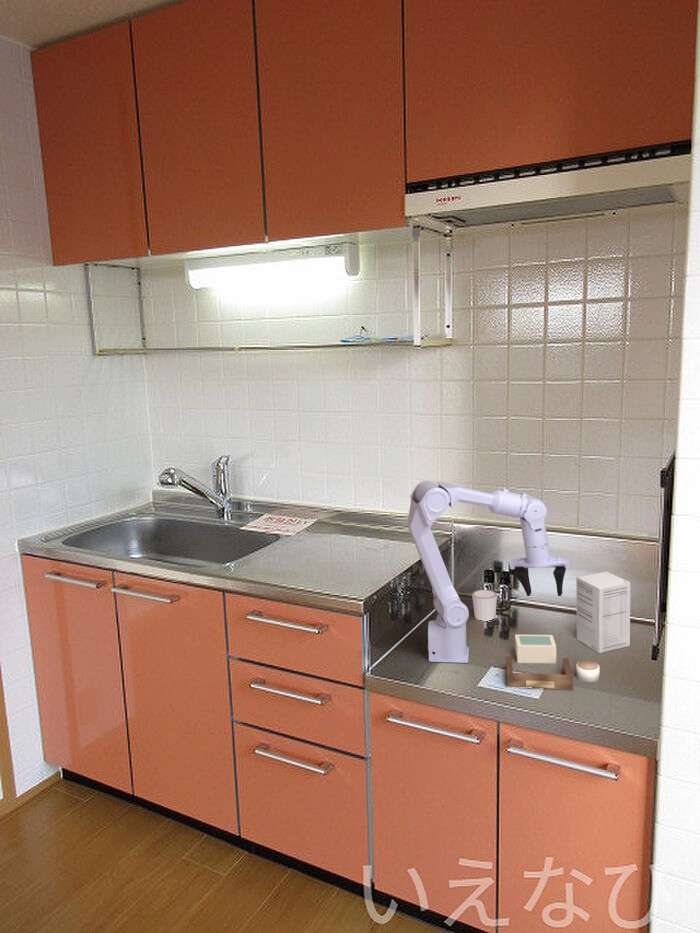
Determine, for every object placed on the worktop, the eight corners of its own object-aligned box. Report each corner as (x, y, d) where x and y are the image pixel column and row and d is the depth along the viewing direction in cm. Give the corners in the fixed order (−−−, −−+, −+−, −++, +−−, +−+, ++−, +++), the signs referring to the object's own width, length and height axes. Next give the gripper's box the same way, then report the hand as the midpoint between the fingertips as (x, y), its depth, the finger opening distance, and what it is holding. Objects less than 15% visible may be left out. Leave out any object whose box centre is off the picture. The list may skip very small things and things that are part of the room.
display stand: (507, 688, 154) (507, 675, 154) (506, 668, 163) (506, 656, 163) (573, 690, 152) (573, 678, 151) (568, 670, 161) (568, 658, 160)
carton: (517, 663, 166) (517, 646, 165) (515, 651, 172) (514, 634, 171) (556, 664, 164) (556, 646, 163) (552, 651, 171) (552, 634, 170)
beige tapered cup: (482, 610, 197) (482, 587, 196) (502, 616, 192) (502, 593, 191) (467, 618, 193) (466, 594, 192) (487, 624, 188) (487, 600, 187)
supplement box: (606, 632, 179) (607, 570, 176) (631, 646, 171) (632, 581, 167) (575, 639, 176) (575, 576, 173) (598, 654, 168) (599, 588, 165)
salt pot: (577, 682, 155) (577, 669, 155) (575, 671, 160) (575, 659, 160) (601, 682, 154) (601, 670, 154) (597, 672, 159) (597, 659, 159)
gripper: (569, 536, 169) (577, 587, 172) (511, 538, 176) (519, 587, 179) (564, 547, 163) (572, 599, 166) (503, 549, 170) (512, 599, 173)
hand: (544, 594), depth 172 cm, fingers open, 7 cm apart
